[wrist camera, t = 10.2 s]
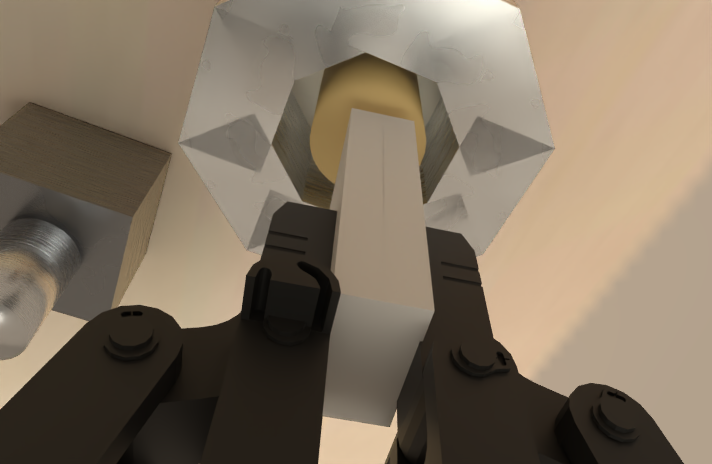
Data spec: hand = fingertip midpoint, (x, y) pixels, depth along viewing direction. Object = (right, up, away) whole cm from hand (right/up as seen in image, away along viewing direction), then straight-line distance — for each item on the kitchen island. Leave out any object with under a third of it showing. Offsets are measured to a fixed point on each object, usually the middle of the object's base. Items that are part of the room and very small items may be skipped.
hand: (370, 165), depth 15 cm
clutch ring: (0, +3, +4) cm, 5 cm away
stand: (-12, +1, +12) cm, 17 cm away
